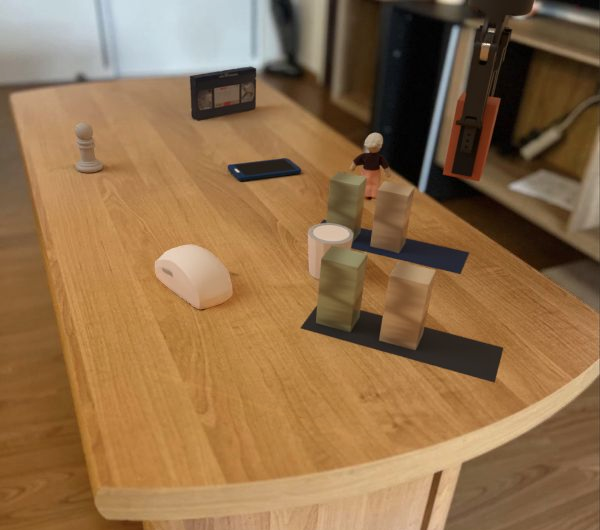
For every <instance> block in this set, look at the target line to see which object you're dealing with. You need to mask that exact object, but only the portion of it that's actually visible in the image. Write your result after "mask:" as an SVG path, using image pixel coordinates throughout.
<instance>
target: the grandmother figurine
mask: <svg viewBox="0 0 600 530" xmlns="http://www.w3.org/2000/svg"><path fill="white" fill-rule="evenodd" d="M383 144H384V137H383V135H382V134H381V133H379V132H372V133H369V135H367V136H366V138H365V140H364V144H363V145H364V146H365V147H366V149H367V151H368V152H362V153H360V154H359V155H357V156H356V157H355V158H354V159H353V160H352V163H351V166H350V167H349V171H351V172H355V170H356V168H357V167H359V166H362V168H361V172H360V176H363V177H367V180H366V189H365V197H364V201H367V200H368V199H369V198H370V201H371V202H375V203H376V199H377V191H378V189H379V187H380V186H381V179H382V178H381V177H382V172H381V168H382V169H383V171H384V173H385V177H386V178H390V177H391V176H392V173H391V168H390V164H389V162H388V161H387V159H386V157H385V156H384V155H383V154H380V153H378V152H380V151H381V148H382V147H383Z"/></svg>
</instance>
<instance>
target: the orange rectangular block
mask: <svg viewBox="0 0 600 530" xmlns="http://www.w3.org/2000/svg"><path fill="white" fill-rule="evenodd" d="M465 97H466V92H462V93H461V95H459V97H458V99H456V105H455V111H454V116H453V121H452V126H451V131H450V136H449V141H448V146H447V151H446V157H445V161H444V165H443V172H442V175H443V176H447V177H448V176H449V177H453V178H459V179H464V180H469V181H474V182H480V181H481V178H482V176H483V173H484V170H485V167H486V162H487V158H488V155H489V150H490V145H491V142H492V137H493V133H494V129H495V124H496V120H497V116H498V112H499V108H500V107H499V106H500V104H501V99H502V98H500V97H495V96H493V97H488V101H487V105H486V109H485V113H484V117H483V125H482V127H483V128H482V133H481V137H480V142H479V146H478V150H477V155H476V159H475V164H474V168H473V173H472V176H471V177H469V176H463V175H458V174H453V173H451V172H452V167H453V162H454V157H455V152H456V147H457V143H458V138H459V133H460V128H461V126H460V125H456V120H460V118H461V117H462V112H463V107H464V102H465Z"/></svg>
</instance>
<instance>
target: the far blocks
mask: <svg viewBox="0 0 600 530" xmlns="http://www.w3.org/2000/svg"><path fill="white" fill-rule="evenodd" d="M366 180H367V177H363V176H361V175H358V174H354V173H347V172H342V171H337V172H336V173H334V175H333V176H332V177H331V178H330V179H329V185H328V197H327V210H326V218H325V220H326V223H333V224H339V225H342V226H345V227H347V228H349V229H351V231H352V232H353V233H354V235H353V241H352V242H354V240H355V239H356V238H357V236H358V235H359V234H360V230H361V228H362V221H363V213H364V211H363V210H364V206H365V205H364V204H365V200H364V197H365V189H366ZM415 189H416V188H415V186H411V185H407V184H402V183H397V182H391V181H387V180H384V181H383V182H382V184H380V187H379V189H378V191H377V199H376V202H375V209H374V214H373V222H372V229H371V230H372V236H371V244H370V247H375V248H379V249H383V250H388V251H392V252H396V253H399V252H400V251H401V249H402V248H403V246H404V244H405V242H406V238H407V235H408V229H409V225H410V224H409V223H410V217H411V211H412V206H413V200H414V194H415Z"/></svg>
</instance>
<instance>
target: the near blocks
mask: <svg viewBox="0 0 600 530" xmlns="http://www.w3.org/2000/svg"><path fill="white" fill-rule="evenodd" d="M368 255H369V254H368V253H366V252H362V251H358V250H354V249H351V250H348V249H344V248H340V247H336V246H331V247H330V248H329V250H328V251H327V252H326V253H325V255H324V256H323V257H322V258H321V267H320V279H318V294H317V304H316V306H317V316H316V323H318V324H321V325H325V326H328V327H332V328H336V329H339V330H343V331H347V332H351V331H352V329H353V327H354V326H355V324H356V322H357V321H358V319H359V317H360V310H362V309H361V307H362V301H363V292H364V285H365V277H366V272H367V264H368ZM436 273H437V270H436V269H434V268H430V267H426V266H421V265H417V264H413V263H409V262H404V261H400V260H398V261H397V262H396V264H395V265H394V267H393V268H392V270H391V272H390V273H389V275H388V282H387V287H386V293H385V300H384V307H383V313H382V316H383V319H382V325H381V331H380V338H379V341H383V342H386V343H390V344H394V345H397V346H401V347H405V348H408V349H412V350H416V349H417V346H418V344H419V342H420V340H421V337H422V335H423V331H424V327H426V321H427V316H428V310H429V307H430V302H431V297H432V294H433V293H432V292H433V288H434V283H435V278H436Z"/></svg>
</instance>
